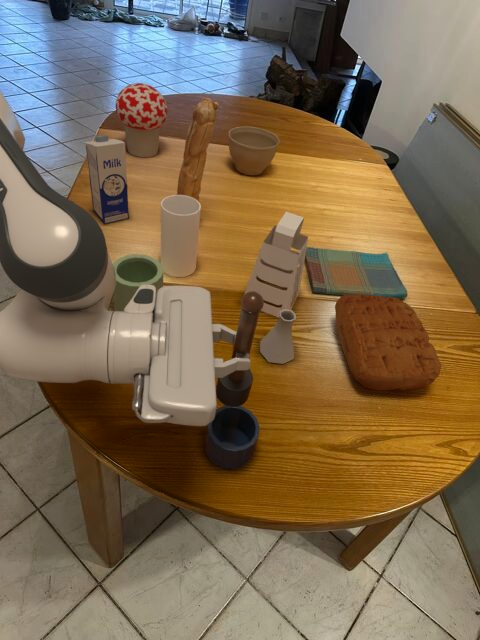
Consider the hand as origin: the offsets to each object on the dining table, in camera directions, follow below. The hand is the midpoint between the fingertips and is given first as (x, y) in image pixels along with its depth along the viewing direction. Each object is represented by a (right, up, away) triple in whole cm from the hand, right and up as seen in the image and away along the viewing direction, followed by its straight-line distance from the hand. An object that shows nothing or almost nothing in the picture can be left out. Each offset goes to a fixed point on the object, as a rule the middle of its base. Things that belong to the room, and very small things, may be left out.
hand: (248, 350), depth 54 cm
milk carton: (-35, +31, +55) cm, 72 cm away
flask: (+6, -2, +30) cm, 30 cm away
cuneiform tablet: (+27, -3, +33) cm, 43 cm away
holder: (-3, -16, +13) cm, 21 cm away
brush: (-2, -7, +6) cm, 9 cm away
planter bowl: (+2, +54, +86) cm, 101 cm away
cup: (-16, +16, +44) cm, 50 cm away
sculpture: (-14, +31, +59) cm, 68 cm away
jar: (-22, +7, +33) cm, 40 cm away
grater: (+6, +9, +41) cm, 42 cm away
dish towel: (+27, +15, +51) cm, 60 cm away
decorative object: (-33, +60, +84) cm, 108 cm away
